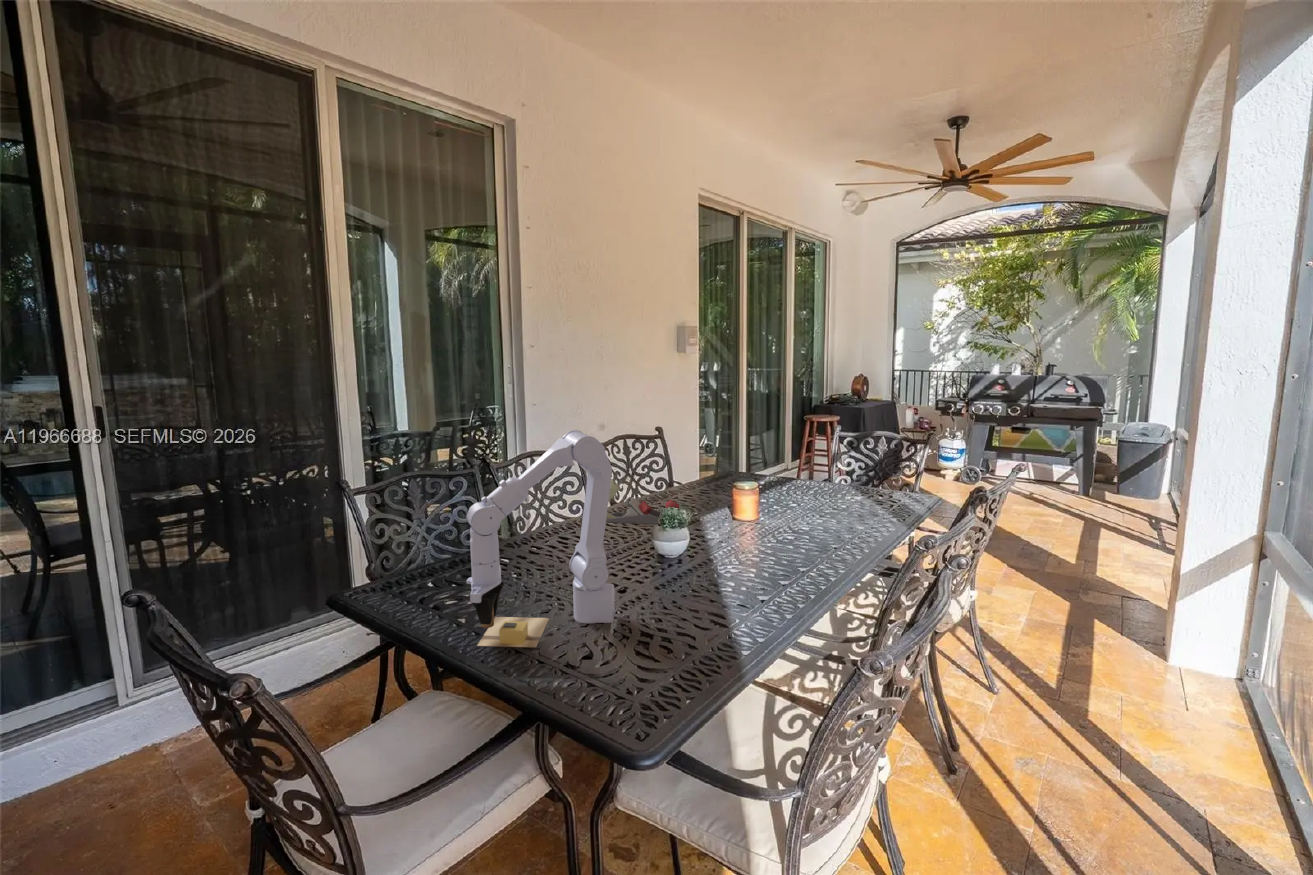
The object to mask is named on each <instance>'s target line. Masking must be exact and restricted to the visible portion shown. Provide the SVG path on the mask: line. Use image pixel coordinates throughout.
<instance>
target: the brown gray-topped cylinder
mask: <svg viewBox="0 0 1313 875" xmlns="http://www.w3.org/2000/svg"><path fill="white" fill-rule="evenodd" d="M494 619H495V617H494V609H493V613H492V621H491V624H481V627H482V628H485V629H488V628H490V627H492V626H494Z"/></svg>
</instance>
